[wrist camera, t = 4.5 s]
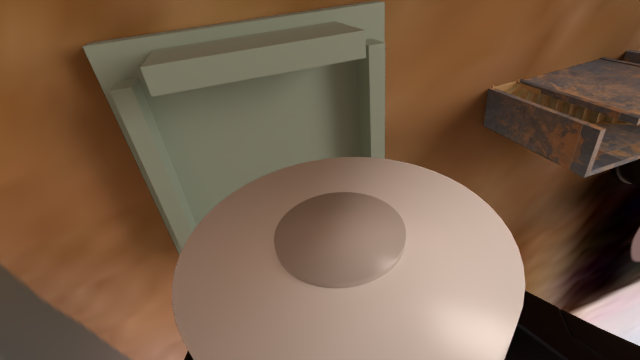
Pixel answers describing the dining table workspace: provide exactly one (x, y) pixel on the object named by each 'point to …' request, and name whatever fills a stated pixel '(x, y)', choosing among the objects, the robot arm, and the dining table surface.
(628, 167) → the french press
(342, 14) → the holder
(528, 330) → the robot arm
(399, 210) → the roll
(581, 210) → the dining table surface
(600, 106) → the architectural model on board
